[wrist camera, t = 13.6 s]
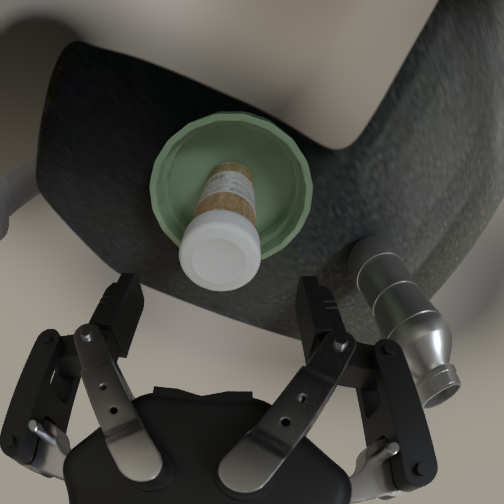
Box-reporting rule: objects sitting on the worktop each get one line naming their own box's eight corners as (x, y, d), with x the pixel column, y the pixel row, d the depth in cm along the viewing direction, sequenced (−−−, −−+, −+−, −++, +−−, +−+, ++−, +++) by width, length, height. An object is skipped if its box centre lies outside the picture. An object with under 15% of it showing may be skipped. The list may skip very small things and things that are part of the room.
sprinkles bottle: (217, 209, 28) (198, 302, 16) (200, 169, 25) (162, 240, 14) (261, 195, 27) (271, 282, 16) (245, 153, 25) (244, 212, 13)
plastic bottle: (349, 282, 34) (404, 425, 17) (335, 241, 31) (404, 401, 14) (394, 262, 32) (468, 393, 16) (384, 219, 29) (484, 357, 12)
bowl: (169, 243, 30) (160, 263, 27) (157, 114, 23) (143, 119, 19) (296, 244, 31) (302, 265, 28) (309, 114, 23) (319, 118, 20)
